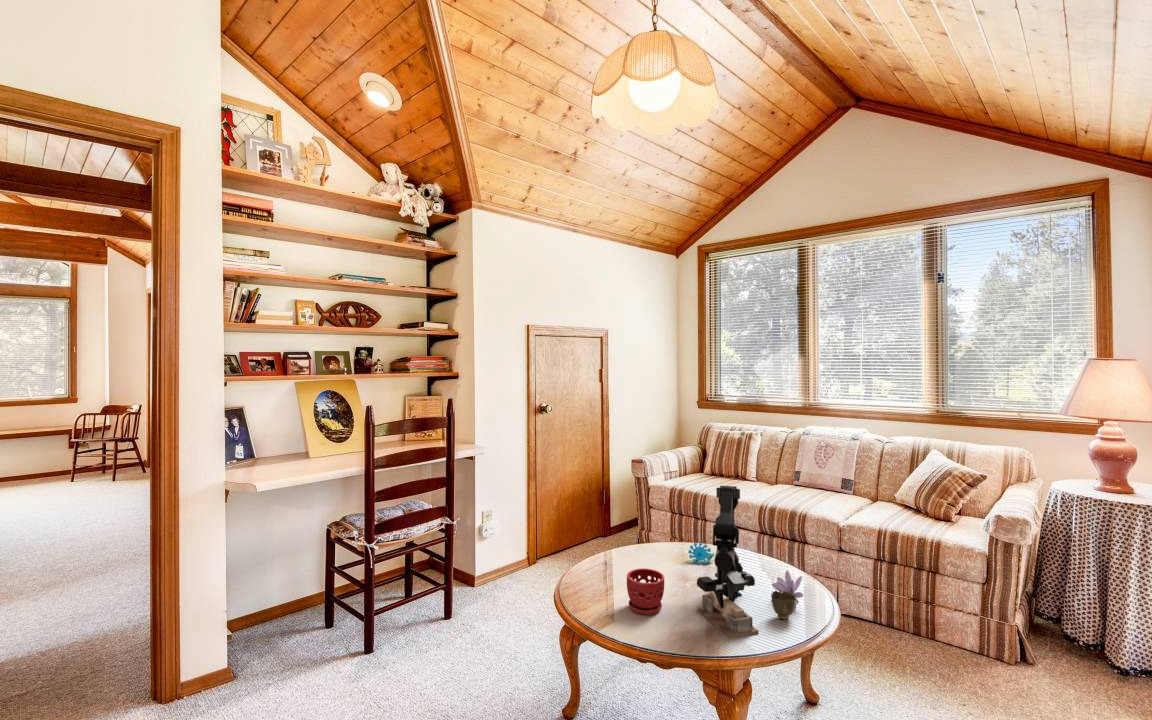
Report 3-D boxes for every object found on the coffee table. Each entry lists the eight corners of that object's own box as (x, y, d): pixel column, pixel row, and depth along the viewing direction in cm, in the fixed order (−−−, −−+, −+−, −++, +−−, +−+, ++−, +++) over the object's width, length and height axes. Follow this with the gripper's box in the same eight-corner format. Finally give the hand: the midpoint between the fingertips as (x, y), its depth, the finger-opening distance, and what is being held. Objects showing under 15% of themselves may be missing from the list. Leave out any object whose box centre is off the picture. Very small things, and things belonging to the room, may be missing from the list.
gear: (687, 560, 231) (689, 539, 238) (686, 567, 235) (688, 545, 242) (714, 566, 229) (715, 544, 235) (712, 572, 233) (713, 550, 240)
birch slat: (709, 603, 186) (709, 591, 186) (717, 601, 187) (717, 590, 187) (735, 624, 171) (735, 611, 171) (744, 622, 172) (744, 610, 172)
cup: (776, 611, 185) (775, 588, 186) (798, 617, 181) (797, 593, 181) (768, 619, 180) (767, 595, 180) (790, 626, 175) (790, 601, 175)
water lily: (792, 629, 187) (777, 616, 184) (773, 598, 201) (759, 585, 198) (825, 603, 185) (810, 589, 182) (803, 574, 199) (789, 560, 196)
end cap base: (697, 609, 188) (697, 595, 188) (722, 605, 190) (722, 591, 190) (730, 638, 167) (730, 622, 167) (758, 633, 170) (758, 617, 170)
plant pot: (619, 610, 187) (619, 576, 188) (640, 598, 197) (640, 565, 198) (651, 621, 179) (651, 585, 179) (671, 608, 189) (671, 573, 189)
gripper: (713, 572, 169) (713, 622, 169) (764, 565, 174) (765, 614, 174) (695, 559, 180) (696, 607, 179) (744, 554, 185) (745, 600, 185)
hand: (726, 607), depth 179 cm, fingers closed on birch slat, 3 cm apart
